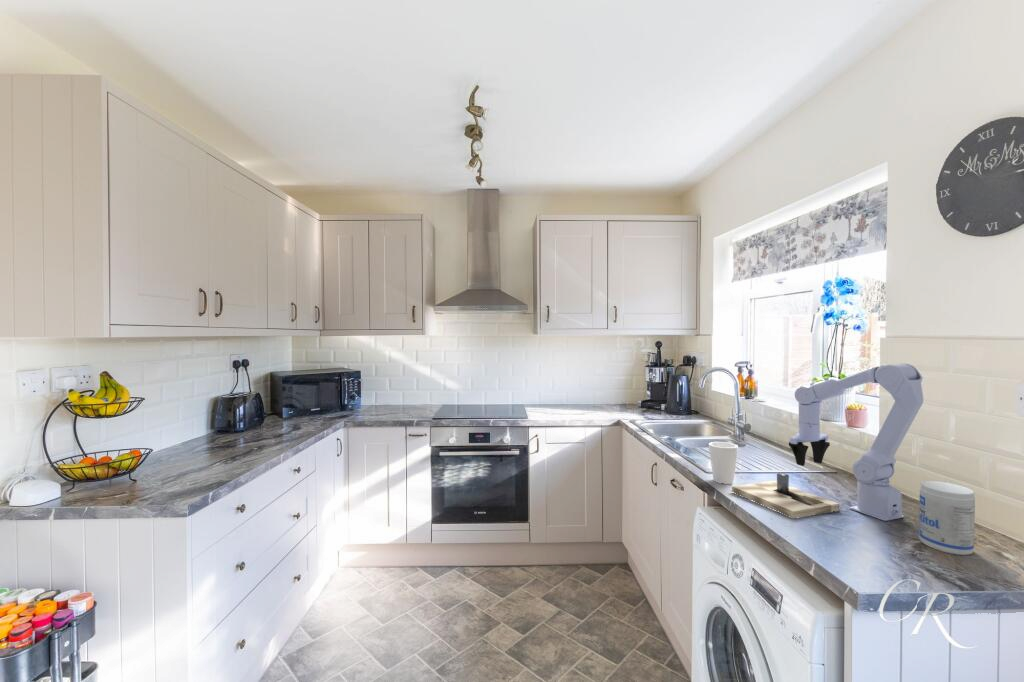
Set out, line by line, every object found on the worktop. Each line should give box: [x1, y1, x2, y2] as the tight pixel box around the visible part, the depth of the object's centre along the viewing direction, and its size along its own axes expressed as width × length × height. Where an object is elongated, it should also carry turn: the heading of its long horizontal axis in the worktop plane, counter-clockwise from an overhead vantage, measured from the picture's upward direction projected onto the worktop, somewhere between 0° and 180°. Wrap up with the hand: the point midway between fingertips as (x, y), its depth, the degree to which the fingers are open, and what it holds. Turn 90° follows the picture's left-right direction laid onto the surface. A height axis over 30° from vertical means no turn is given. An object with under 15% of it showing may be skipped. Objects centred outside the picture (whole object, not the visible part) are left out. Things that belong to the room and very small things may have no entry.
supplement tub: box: [918, 480, 976, 556], centre depth 106 cm, size 10×10×15 cm
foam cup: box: [708, 441, 739, 485], centre depth 155 cm, size 10×9×13 cm
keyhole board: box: [731, 480, 840, 519], centre depth 136 cm, size 22×18×2 cm
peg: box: [776, 472, 794, 500], centre depth 139 cm, size 5×5×8 cm
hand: (809, 463), depth 143 cm, fingers open, 7 cm apart
